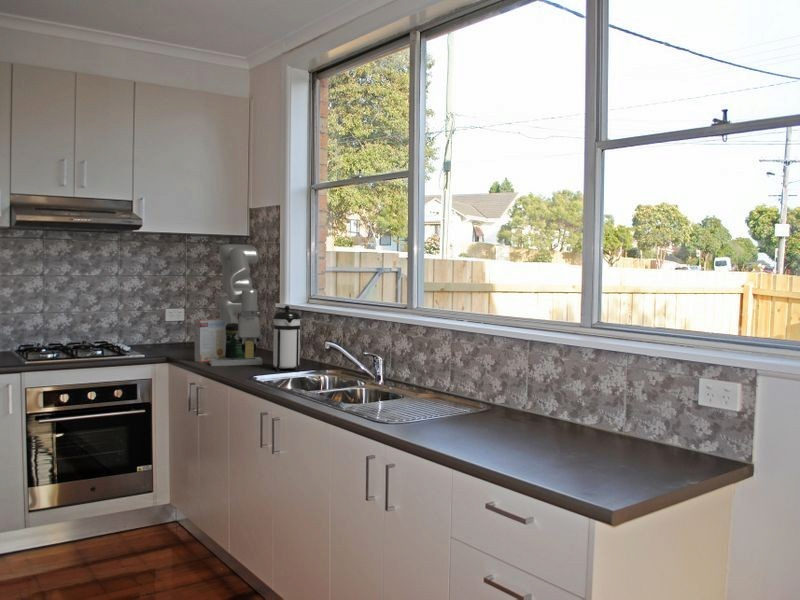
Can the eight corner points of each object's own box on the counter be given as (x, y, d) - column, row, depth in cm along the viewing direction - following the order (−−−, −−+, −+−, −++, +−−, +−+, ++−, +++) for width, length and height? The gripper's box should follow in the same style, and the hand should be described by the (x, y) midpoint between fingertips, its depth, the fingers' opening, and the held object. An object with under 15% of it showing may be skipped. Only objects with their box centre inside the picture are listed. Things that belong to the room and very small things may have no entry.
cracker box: (218, 359, 367) (219, 318, 366) (225, 361, 363) (225, 319, 362) (193, 362, 357) (194, 319, 356) (199, 363, 353) (200, 320, 352)
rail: (209, 364, 349) (209, 358, 349) (259, 363, 357) (259, 356, 357) (211, 366, 342) (211, 360, 341) (262, 365, 350) (262, 358, 350)
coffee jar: (246, 359, 369) (246, 323, 368) (232, 361, 364) (233, 324, 363) (236, 357, 376) (236, 322, 375) (222, 359, 370) (223, 322, 370)
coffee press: (310, 369, 341) (311, 305, 340) (288, 373, 327) (289, 307, 326) (281, 365, 350) (282, 304, 349) (259, 369, 336) (260, 305, 335)
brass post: (244, 357, 352) (244, 341, 352) (252, 357, 354) (252, 340, 354) (245, 358, 349) (245, 341, 348) (253, 358, 350) (253, 341, 350)
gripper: (265, 313, 357) (264, 350, 358) (230, 314, 351) (230, 351, 352) (267, 314, 350) (267, 352, 351) (232, 315, 344) (232, 353, 345)
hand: (248, 351), depth 351 cm, fingers closed on brass post, 4 cm apart
